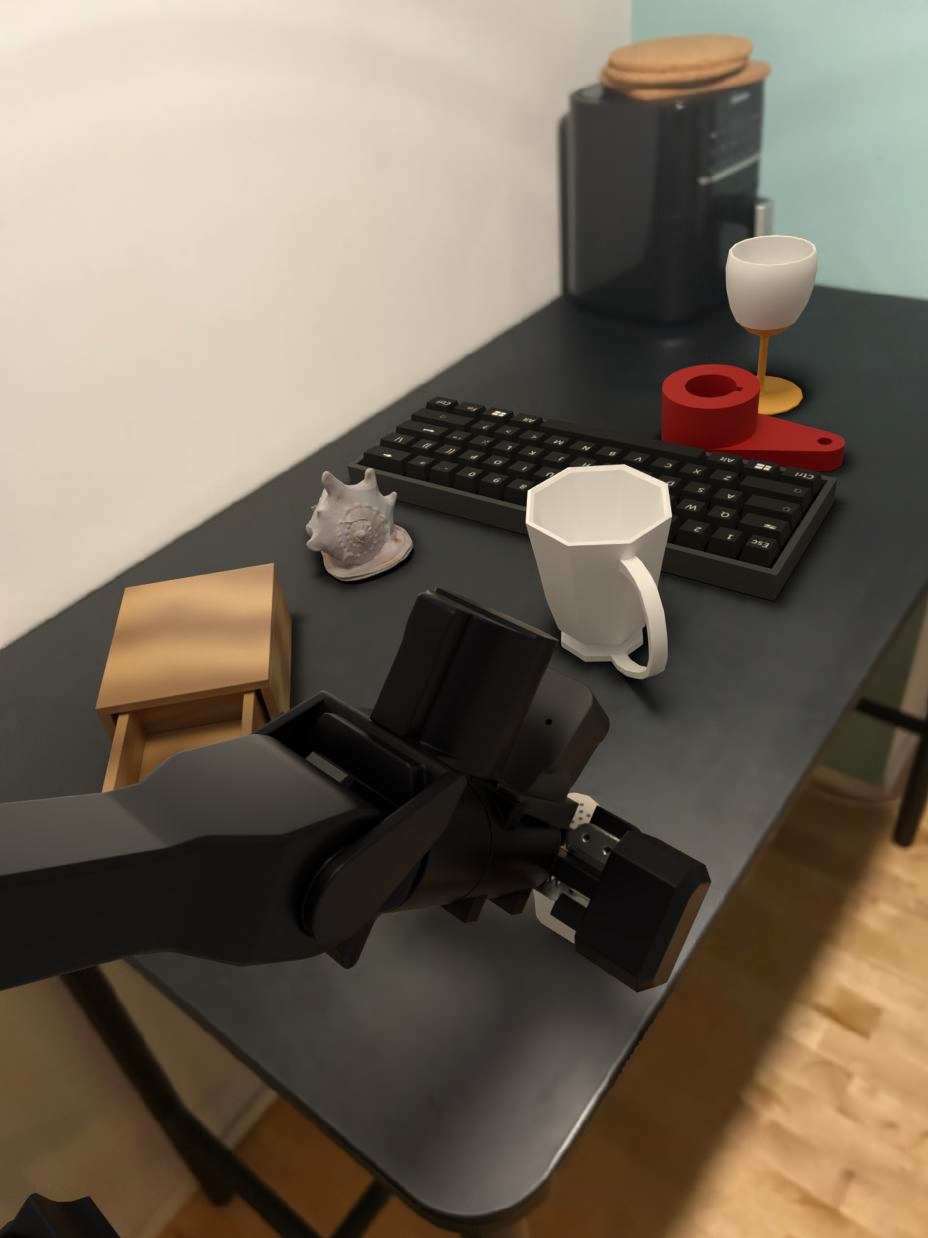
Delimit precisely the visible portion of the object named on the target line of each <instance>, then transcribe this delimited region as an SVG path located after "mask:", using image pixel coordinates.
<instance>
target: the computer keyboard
mask: <svg viewBox="0 0 928 1238" xmlns="http://www.w3.org/2000/svg"><path fill="white" fill-rule="evenodd" d="M605 465H627V466H629V467H631V468H633V469H636V470H638V471H640V472H642V473H645V474H647V475H649V476H651V477H654V478H656V479H658V480H660V481H663V482H665V483H667V484H668V491H669V498H670V506H671V513H672V519H671V524H670V529H669V534H668V539H667V543H666V547H665V552H664V556H663V561H662V566H661V571H660V572H664V573H667V574H672V575H676V576H679V577H683V578H687V579H690V580H694V581H698V582H701V583H705V584H709V585H712V586H716V587H720V588H724V589H728V590H731V591H735V592H738V593H743V594H746V595H750V596H753V597H757V598H761V599H763V600H764V599H766V600H768V601H772V602H775V601H776V599H777V598H778V595H780V592H781V591H782V589H783V587H784V585H785V584H786V582H787V581H788V579H789V578H790V576H791V574H792V573H793V571H794V569H795V567H796V566H797V564H798V563H799V561H800V559H801V558H802V556H803V555H804V553H805V551H806V550H807V547H808V546H809V545H810V543H811V541H812V539H813V538H814V536H815V535H816V533H817V531H818V530H819V528H820V526H821V525H822V523H823V521H824V520H825V518H826V517H827V515H828V513H829V512H830V510H831V508H832V507H833V505H834V503H835V498H836V497H835V496H836V490H837V483H838V477H833V476H828V475H823V474H822V473H821V471H811V470H806V469H801V468H796V467H791V466H789V467H788V468H784V467H780V466H779V464H776V463H771V462H766V461H761V460H756V459H750V461H749V460H744V459H742V457H741V456H736V455H731V454H725V453H720V452H715V451H714V452H713V453H708V452H705V449H700V448H695V447H690V446H685V445H680V444H675V443H670V442H665V441H661V440H659V439H654V438H649V437H644V436H640V435H635V434H630V433H625V432H620V431H615V430H608V429H604V428H600V427H594V426H589V425H584V424H580V423H579V424H578V423H574V422H569V421H565V420H559V419H553V418H548V419H544V418H543V417H542V416H538V415H533V414H530V413H529V414H528V413H524V412H519V413H514V412H513V410H509V409H505V408H504V409H503V408H497V407H493V406H491V407H490V408H487V407H486V406H485V405H483V404H478V403H474V402H468V401H463V402H459V401H458V400H457V399H452V398H447V397H443V396H439V395H438V396H435V397H432V398H431V399H429V400H428V401H427V402H426V403H424V404H423V405H422V406H420V407H419V408H418V409H417V410H416V411H414V412H412V413H411V414H410V415H409V416H408V417H407V418H406V419H404V420H403V421H402V422H400V423H399V424H398V425H396V426H395V427H394V428H393V429H392V430H390V431H389V432H388V433H387V434H385V435H384V436H383V437H380V439H379V440H377V442H374V444H373V445H371V446H370V447H368V448H367V449H366V450H365V451H363V452H362V453H361V454H360V455H359V456H357V457H356V458H355V459H353V461H350V462H349V464H347V465H346V467H347V471H348V476H349V480H350V485H356V484H358V483H360V482H361V481H363V480H364V479H365V472H366V470H367V469H369V468H372V469H373V470H374V472H375V476H376V481H377V486H378V490H379V492H380V493H381V494H382V495H383V496H388V495H390V494H391V493H392V492H396V493H397V499H396V501H400V502H403V503H408V504H411V505H414V506H417V507H422V508H426V509H430V510H432V511H437V512H441V513H444V514H449V515H451V516H456V517H459V518H464V519H466V520H471V521H474V522H478V523H481V524H484V525H485V524H486V525H489V526H493V527H497V528H500V529H504V530H508V531H512V532H516V533H519V534H522V535H526V536H529V534H528V530H527V526H526V511H527V497H528V490H530V489H532V488H533V487H535V486H537V485H539V484H540V483H542V482H544V481H546V480H547V479H549V478H551V477H553V476H554V475H556V474H558V473H560V472H561V471H563V470H565V469H567V468H568V467H587V466H605Z"/></svg>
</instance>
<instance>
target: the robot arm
mask: <svg viewBox="0 0 928 1238" xmlns="http://www.w3.org/2000/svg"><path fill="white" fill-rule="evenodd" d="M558 644H559V639H558V638H556V637H554V636H552V635H551V634H549V633H548V632H545V631H543V630H541V629H538V628H537V627H535V626H532V625H530V624H528V623H526V622H524V621H521V620H519V619H518V618H515V617H513V616H510V615H509V614H506V613H504V612H502V611H499V610H496V609H495V608H492V607H490V606H487V605H485V604H483V603H480V602H478V601H475V600H473V599H470V598H468V597H465V596H463V595H460V594H457V593H455V592H453V591H450V590H448V589H444V588H441V587H438V586H435V588H434V590H431V589H426V591H422V592H420V593H419V594H418V595H417V596H416V598H415V601H414V603H413V606H412V608H411V611H410V613H409V615H408V618H407V619H406V623H405V627H404V630H403V635H402V638H401V642H400V644H399V647H398V650H397V652H396V655H395V656H394V658H393V661H392V664H391V667H390V669H389V671H388V673H387V675H386V678H385V679H384V682H383V685H382V688H381V690H380V692H379V695H378V697H377V699H376V701H375V704H374V706H373V708H370V707H362V706H355V705H351V704H349V703H347V702H346V701H344V700H342V699H340V698H339V697H337V696H335V695H334V694H333V693H330V692H329V691H327V690H326V689H325V690H324V689H323V690H320V691H318V692H317V693H315V694H314V695H312V696H310V697H309V698H307V699H305V700H304V701H302V702H300V703H298V704H297V705H295V706H293V707H291V708H290V710H289V711H287V712H284V711H282V712H281V713H280V714H278V715H277V716H276V717H275V718H274V719H272V720H271V721H270V722H269V723H267V724H266V725H264V726H262V727H261V728H259V729H257V730H256V731H254V732H252V733H251V734H249V735H246V736H241V737H237V738H233V739H229V740H225V741H221V742H217V743H213V744H209V745H205V746H201V747H197V748H193V749H189V750H185V751H181V752H178V753H175V754H173V755H171V756H170V757H168V758H166V759H165V760H164V761H163V762H162V763H161V764H159V765H158V766H157V767H156V768H155V769H154V770H152V771H151V772H150V773H149V774H148V775H147V776H145V777H144V778H143V779H142V780H141V781H140V782H138V783H137V784H134V785H130V786H126V787H122V788H119V789H115V790H111V791H108V792H102V791H101V792H95V793H94V792H93V793H85V794H75V795H67V796H57V797H47V798H36V799H28V800H18V801H9V802H0V992H4V991H6V990H10V989H14V988H18V987H22V986H25V985H29V984H33V983H36V982H40V981H44V980H48V979H51V978H56V977H59V976H62V975H63V976H64V975H67V974H70V973H74V972H77V971H78V972H79V971H82V970H86V969H89V968H93V967H96V966H101V965H104V964H109V963H111V962H115V961H119V960H123V959H126V958H131V957H134V956H139V955H150V954H159V953H161V954H162V953H174V954H180V955H184V956H188V957H193V958H198V959H201V960H207V961H212V962H214V963H215V962H216V963H219V964H224V965H229V966H232V967H233V966H235V967H240V968H245V967H252V966H253V967H254V966H260V965H261V966H262V965H269V964H279V963H284V962H285V963H287V962H288V963H289V962H294V961H295V962H296V961H303V960H307V959H311V958H314V957H317V956H320V955H322V954H325V955H327V956H328V957H330V958H331V959H332V960H333V961H335V962H336V964H338V965H339V966H340V967H342V968H343V969H345V970H350V969H353V968H354V967H355V966H357V965H356V964H357V963H358V962H359V959H360V957H361V954H362V953H363V950H364V948H365V946H366V943H367V940H368V938H369V937H370V934H371V932H372V929H373V927H374V924H375V923H376V921H377V919H378V918H379V917H380V916H381V915H383V914H391V913H398V912H405V911H414V910H419V909H427V908H434V907H440V908H442V909H443V910H445V911H446V912H448V913H449V914H450V915H452V916H453V917H455V918H456V919H457V920H459V921H460V922H462V923H463V924H470V923H474V922H478V920H479V917H480V914H481V912H482V910H483V907H484V905H485V903H486V901H487V900H488V901H490V902H491V903H492V904H494V905H495V906H497V907H498V908H500V909H501V910H503V911H504V912H506V913H508V914H509V915H510V916H515V915H521V914H523V912H524V910H525V907H526V905H527V902H528V901H529V898H530V896H531V893H532V891H533V889H535V890H536V891H538V892H539V893H541V894H542V895H544V896H545V897H547V898H549V899H550V900H552V901H555V903H554V905H553V907H552V910H551V912H550V915H552V916H553V917H555V918H556V919H558V920H559V921H561V922H562V923H564V924H565V925H567V926H568V927H570V928H571V929H573V930H575V931H576V933H575V935H574V941H575V944H574V951H575V953H576V954H578V955H579V956H581V957H582V958H583V959H585V960H587V961H588V962H590V963H591V964H593V965H594V966H596V967H597V968H599V970H602V971H603V972H605V973H606V974H607V975H609V976H611V977H612V978H614V979H615V980H616V981H618V982H619V983H621V984H623V985H624V986H625V987H627V988H629V989H631V990H632V991H634V992H635V994H636V993H637V994H638V993H640V992H644V991H648V990H650V989H655V988H656V987H660V986H662V985H665V984H667V983H668V981H669V979H670V977H671V975H672V972H673V970H674V968H675V967H676V964H677V961H678V959H679V957H680V955H681V953H682V950H683V948H684V945H685V943H686V941H687V939H688V936H689V934H690V931H691V930H692V927H693V924H694V923H695V920H696V919H697V916H698V914H699V912H700V909H701V907H702V905H703V902H704V901H705V898H706V896H707V893H708V892H709V890H710V889H709V888H710V886H711V884H712V879H711V876H710V873H709V871H708V868H707V865H706V864H705V863H703V862H702V861H699V860H697V859H696V858H694V857H692V856H690V855H688V854H686V853H685V852H683V851H681V850H679V849H678V848H676V847H674V846H672V845H670V844H669V843H667V842H665V841H663V840H661V839H659V838H658V837H656V836H653V835H650V834H647V833H645V832H642V831H641V830H640V828H639V827H638V826H636V825H634V823H633V824H632V823H631V822H629V821H628V820H626V819H624V818H622V817H620V816H618V815H616V814H615V813H613V812H611V811H609V810H607V809H605V808H604V807H602V806H601V805H600V806H598V805H597V806H596V808H595V810H594V812H593V815H592V817H591V819H590V822H589V823H583V824H580V825H579V826H578V827H576V828H575V829H574V828H572V827H570V824H571V822H572V820H573V817H574V815H575V813H576V810H577V808H578V806H579V803H577V802H575V801H574V800H572V799H570V798H568V797H567V796H568V794H569V792H570V791H571V788H572V787H574V785H575V783H576V782H577V781H578V779H579V777H580V776H581V774H582V773H583V771H584V769H585V768H586V766H587V764H588V762H589V761H590V759H591V758H592V757H593V755H594V753H595V752H596V750H597V748H598V746H599V745H600V744H601V743H602V742H603V741H604V740H605V738H606V737H607V735H608V733H609V730H610V726H611V723H610V718H609V716H608V714H607V712H606V711H605V709H604V708H603V706H602V705H601V703H600V702H599V700H598V698H597V697H596V696H595V694H594V692H593V690H592V689H591V688H590V687H589V686H588V685H587V684H586V683H584V682H582V681H580V680H578V679H576V678H574V677H572V676H570V675H568V674H566V673H564V672H561V671H559V670H557V669H555V668H553V667H551V666H549V664H550V662H551V660H552V658H553V656H554V653H555V651H556V648H557V646H558ZM312 753H314V754H315V755H317V756H318V757H319V758H321V759H323V760H324V761H325V762H327V763H329V764H330V765H331V766H333V767H335V768H336V769H338V770H339V771H341V772H342V773H344V774H345V775H346V776H345V777H344V778H343V779H342V780H340V781H339V780H337V779H336V778H334V777H333V776H332V775H330V774H328V773H327V772H325V771H324V770H322V769H321V768H320V767H318V766H317V765H315V764H313V762H311V761H309V760H308V759H307V758H309V756H311V754H312ZM565 844H566V850H568V851H566V850H565V849H563V848H561V847H560V846H564V845H565ZM552 876H553V877H555V878H553V879H552ZM551 880H552V881H551ZM558 881H559V882H560V883H559V884H558ZM0 1238H121V1236H120V1234H119V1233H118V1232H117V1231H116V1230H115V1228H114V1227H113V1226H112V1223H110V1221H109V1220H108V1218H107V1217H106V1216H105V1215H104V1214H103V1212H102V1211H101V1209H100V1208H99V1206H97V1204H96V1203H95V1201H94V1200H93V1199H92V1197H91V1196H90V1195H88V1196H84V1197H81V1198H77V1199H74V1200H70V1201H69V1200H68V1201H57V1200H53V1199H50V1198H48V1197H46V1196H44V1195H42V1194H40V1193H37V1192H33V1193H31V1194H30V1195H29V1196H28V1197H27V1198H26V1199H25V1201H24V1202H23V1204H22V1205H21V1207H20V1209H19V1210H18V1212H17V1213H16V1214H15V1217H14V1218H13V1219H11V1220H9V1221H8V1222H6V1224H4V1225H3V1226H2V1227H1V1228H0Z"/></svg>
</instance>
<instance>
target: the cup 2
mask: <svg viewBox="0 0 928 1238" xmlns="http://www.w3.org/2000/svg"><path fill="white" fill-rule="evenodd" d="M817 273H818V251H817V248H816V245H815V244H814V243H813V242H811V241H809V240H808V239H805V238H801V237H797V236H795V235H781V234H780V235H779V234H774V235H773V234H772V235H759V236H755V237H750V238H745V239H743V240H741V241H738V242H736V243H735V244H733V246H732V247H730V248H729V250H728V254H727V259H726V264H725V288H726V294H727V301H728V304H729V309H730V310H731V313H732V315H733V318H734V320H735V322H736V323H738V325H740V326H741V327H742V328H743V329H744V330H745V331H746V332H748V333H749V334H751V335H754V336H758V337H759V338H760V340H759V341H760V343H759V352H758V361H757V362H758V363H757V374H756V375H755V376H756V377H757V378H758V380H759V382H760V396H759V407H758V413H760V414H763V415H767V416H774V415H780V414H785V413H787V412H789V411H791V410H793V409H794V408H796V407H798V406H799V405H800V403H801V402H802V400H803V399H804V397H803V392H802V389H801V388H800V387H799V386H798V385H796V384H795V383H794V381H793V382H792V381H790V380H788V379H784V378H781V377H776V376H772V375H771V376H770V375H766V371H767V361H768V360H767V359H768V351H769V350H768V349H769V339H770V337H771V336H775V335H776V336H777V335H779V334H781V333H783V332H785V331H786V330H787V329H789V328H790V327H791V326H792V325H795V323H796V322H797V321H798V319H799V318H800V316H801V315H802V313H803V312H804V310H805V308H806V307H807V305H808V303H809V300H810V298H811V295H812V292H813V290H814V288H815V283H816V277H817Z"/></svg>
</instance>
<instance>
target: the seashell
mask: <svg viewBox="0 0 928 1238" xmlns="http://www.w3.org/2000/svg"><path fill="white" fill-rule="evenodd" d="M321 484H322V487H323V488H324V489H323V491H322V493H321V496H320V497H319V500H318V503H317V504H315V505H313V506H311V508H310V509H311V510H312V512H313V513H312V516H311V518H310V520H309V521H308V523H307V524H305V531H306V534H308V536H309V538H310V539H309V540H308V541H307V542H306V548H307V549H308V550H309V551H311V552H314V553H315V552H316V553H317V552H320V554H321V556H322V558H323V564H324V568H325V570H326V572H328V574H329V575H331V576H332V577H334V578H335V579H337V580H339V581H342V582H354V581H360V580H363V579H367V578H370V577H373V576H377V575H379V574H381V573H383V572H386V571H388V570H390V569H393V568H394V567H396V566H397V565H398V564H400V563H401V562H402V561H404V560H405V559H407V558H408V556H409V555H410V553H411V551H412V550H413V548H414V541H413V539H412V538H411V536H410V534H409V533H408V532H407V530H406V529H405V528H403V527H402V526H400V525H398V524H395V522H394V521H395V520H394V509H395V506H396V502H397V500H396V499H397V493H396V492H392V493H391V494H390V495H388V496H383V495H382V494H381V493H380V492H379V490H378V486H377V481H376V476H375V472H374V470H373V469H372V468H369V469H367V470H366V472H365V479H364V480H363V481H361V482H360V483H358V484H356V485H351V484H345V483H343V482H342V481H340V480H339V478H337V477H335V476H334V475H333V474H332V473H331V472H330V471H328V470H326V471H324V472H323V473H322V475H321Z"/></svg>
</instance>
